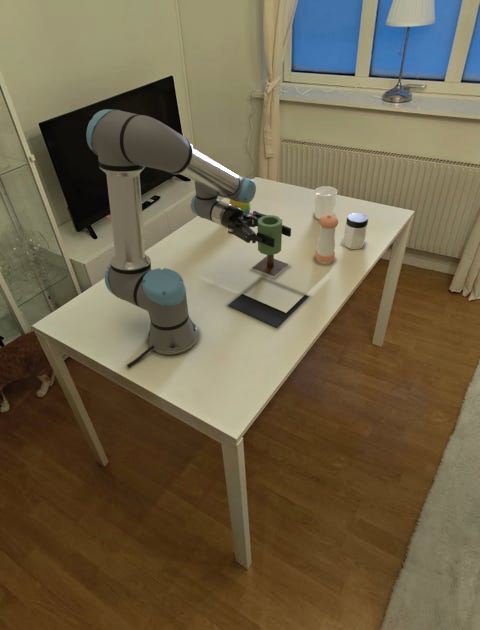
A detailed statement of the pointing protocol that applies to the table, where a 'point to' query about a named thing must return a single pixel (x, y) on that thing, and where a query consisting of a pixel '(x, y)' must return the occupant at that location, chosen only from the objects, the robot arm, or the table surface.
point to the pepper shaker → (326, 239)
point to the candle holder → (325, 201)
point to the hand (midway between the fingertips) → (282, 237)
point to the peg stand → (270, 265)
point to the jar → (355, 230)
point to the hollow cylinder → (270, 233)
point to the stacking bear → (241, 206)
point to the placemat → (263, 310)
